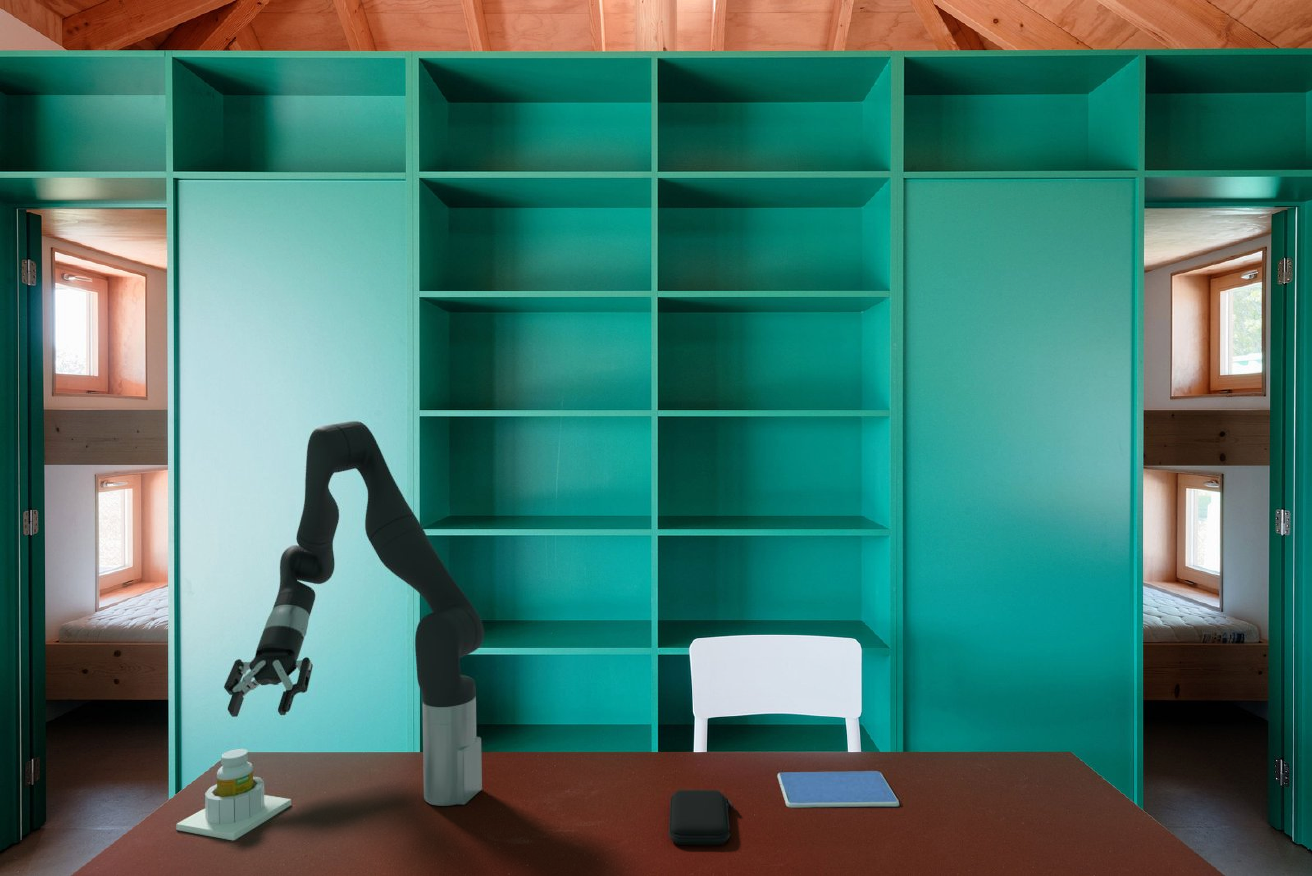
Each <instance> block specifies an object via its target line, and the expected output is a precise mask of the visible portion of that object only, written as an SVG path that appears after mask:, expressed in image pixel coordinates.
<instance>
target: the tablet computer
mask: <svg viewBox="0 0 1312 876" xmlns="http://www.w3.org/2000/svg"><path fill="white" fill-rule="evenodd" d="M777 780H778V783H779V786H780V789H781V790H780V791H781V792H782V796H783V799H784V802H785V805H786V807H788V808H791V809H793V808H795V809H796V808H797V809H798V808H799V809H800V808H841V807H842V808H849V807H851V808H854V807H859V808H860V807H900V802H899V799H898V798H897V797H896V795H895V793H894V792H893V789H892V788H891V787H890V785H889V783H888V782H887V780H886V779H885V777H884V776H883V774H882V773H881V771H878V770H864V771H862V770H861V771H859V770H858V771H857V770H856V771H800V772H799V771H796V772H794V771H792V772H791V771H790V772H788V771H787V772H786V771H784V772H779V773H777Z"/></svg>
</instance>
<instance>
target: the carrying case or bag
mask: <svg viewBox="0 0 1312 876" xmlns="http://www.w3.org/2000/svg"><path fill="white" fill-rule="evenodd" d="M728 807H729V808H728ZM729 809H730V811H731V812H733V811H734V805H733V803H732V801H731V800H730V798H729V797H726V796H725V795H723V793H722V792H721V791H719V790H716V789H679V790H676V791H675V792H673V794H672V795H671V797H670V800H669V819H668V820H669V821H668V822H669V823H668V836H669V838H670V840H671V841H672V842H673V843H674V844H676V845H678V846H722V845H724V844H725V843H726V842H727V841H728V840H729V838H731V829H730V819H729V817H730V816H729Z"/></svg>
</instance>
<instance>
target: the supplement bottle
mask: <svg viewBox="0 0 1312 876" xmlns="http://www.w3.org/2000/svg"><path fill="white" fill-rule="evenodd" d="M220 760H221V761H220V765H221V766H220V767H219V769H218V770H217V772H216V784H217V796H218V797H230V796H236V795H239V794H243V793H246V792H248V791H250V790H251V789H253V776H254V766H253V764H252V762H250V761H248V760H249V751H248V750H247V749H246V748H237V749H230V750H227V751H225V752H224V753H222V755H221V758H220Z"/></svg>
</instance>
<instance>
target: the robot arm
mask: <svg viewBox="0 0 1312 876" xmlns="http://www.w3.org/2000/svg"><path fill="white" fill-rule="evenodd" d="M306 449H307V450H306V462H305V463H306V465H305V477H304V503H303V508H302V513H301V515H300V521H299V526H298V529H297V531H296V532H297V533H296V537H295V539H296V543H297V544H295V545H291V546H289V547H287V548H286V549H285V550H284V551H283V552H282V554H281V557H280V560H279V587H278V593H277V595H276V598H275V602H274V603H273V607H272V610H271V612H270V614H269V616H268V617H267V620H266V623H265V625H264V628H263V631H262V633H261V636H260V639H259V642H258V645H257V648H256V651H255V656H254V658H253V659H252V660H251V661H242V659H240V658H238V659H236V660H235V661H234V663H233V665H232V667H231V670H230V672H229V674H228V676H227V678H226V681H225V683H224V686H223V688H224V690H225V691H226V692H227V693H228V695H230V696H231V697H230V700H229V703H228V705H227V711H228V712H229V713H228V714H230V716H231V717H232V718H237V717H238V716H239V714H240V710H241V707H242V704H243V702H244V699H245V698H244V697H245V696H246V695H247V694H248V693H249V692H251V691H253V690H255V689H256V688H258V686H259V685H260V686H268V685H273V686H279V684H281V683H282V684H283V686H284V688H285V690H284V691H282V695H281V699H280V701H279V704H278V707H277V713H279V716H285V715H287V713H289V712H290V710H291V707H292V705H293V702H294V698H295V696H296V695H297V694H300V693H301V694H303V693H306V692H307V691H308V688H309V683H310V679H311V675H312V671H313V667H314V666H313V665H314V664H313V663H312V661H311V659H310V658H309V657H308V656H305V657H303V658H302V660H298V659H299V656H300V653H301V650H302V647H303V643H304V641H305V637H306V635H307V632H308V631H307V630H308V627H309V620H310V616H311V613H312V611H313V607H314V603H315V600H316V592H315V590H314V589H313V588H312V587H311V586H309V585H308V584H305V583H310V584H315V585H323V584H325V583H326V582H328V581H329V580H330V579H331V578H332V576H333V574H334V571H335V554H334V539H335V534H336V532H337V528H338V524H339V521H340V509H339V505H338V503H337V502H336V500H335V498H334V496H333V494H332V492H331V490H330V488H329V486H330V485H329V484H330V481H331V479H332V476H333V475H334V474H335V473H341V472H346V471H351V470H355V469H356V470H357V472H359V474H360V475H361V478H362V480H363V482H364V484H365V487H366V489H367V503H366V511H365V518H364V519H365V521H364V528H365V529H364V530H365V535H366V537H367V538H368V541H369V543H370V545H371V547H372V548H373V549H374V552H375V553H376V555H377V556H378V558H379V560H380V562H381V563H382V564H383V566H384V567H386V569H388V570H389V572H391V573H393V574H394V575H395V576H397V578H399V579H400V580H402V581H403V582H405V583H406V584H407V585H409V586H410V587H411V588H412V589H414V590H415V591H416V592H418V593H419V594H420V595H421V597H422V598H423V600H424V601H425V602H426V604H427V605H428V606H429V608H430V610H431V611H432V612H431V613H428V614H426V615H424V616H423V617H422V618H421V619H420V620H419V621H418V624H417V626H416V631H415V635H414V636H415V638H414V648H415V649H414V650H415V662H416V666H415V667H416V677H417V683H418V687H419V690H420V692H421V695H422V696H421V698H422V699H421V700H422V752H423V753H422V758H423V761H422V762H423V765H422V766H423V770H422V771H423V798H424V801H425V802H426V803H428V804H430V805H433V806H439V807H440V806H441V807H446V806H447V807H449V806H454V805H465V804H467V803H468V802H469V801H470V800H471V799H473V798H474V796H476V795H477V794H478V793H479V792H481V790H482V789H483V784H482V783H483V782H482V781H483V777H482V775H483V774H482V772H483V771H482V738H481V736H477V699H476V698H477V697H476V695H477V691H476V682H475V680H474V679H473V678H472V677H470V676H468V675H462V674H461V673H462V672H461V665H460V664H461V663H460V659H461V658H462V657H465V656H467V655H469V654H471V653H474V652H476V651H477V650H478V649H479V648H480V647H481V645H482V644H483V640H484V637H485V636H484V635H485V629H484V624H483V622H482V618H481V616H480V614H479V613H478V611H477V610H476V608H475V607H474V605H473V603H472V602H471V601H470V600H469V598H467V596H466V594H465V593H464V592H463V590H462V589H461V588H460V586H459V585H458V584H457V583H456V581H455V580H454V578H453V576H451V574H450V572H449V571H448V569H447V568H446V566H445V564H444V562H443V561H442V560H441V558H440V555H438V553H437V551H436V550H435V548H434V547H433V545H432V543H431V541H430V540H429V538H428V536H427V534H426V532H425V530H424V528H423V527H422V524H420V521H419V520H418V518H417V517H416V515H415V514H414V511H413V510H412V509H411V507H410V506H409V504H408V502H407V501H406V498H405V496H403V493H402V491H401V490H400V487H399V486H398V484H397V482H396V481H395V479H394V476H393V475H392V473H391V470H390V468H389V466H388V463H387V461H386V459H385V457H384V455H383V452H382V450H381V448H380V447H379V443H378V442H377V440H376V438H375V436H374V435H373V432H372V431H371V430H370V428H369V427H368V426H367V425H366V424H365V423H363V422H362V421H358V420H357V421H356V420H354V421H353V420H352V421H345V422H339V423H334V424H332V423H331V424H328V425H323V426H319V427H316V428H314V430H313V431H312V432H311V434H310V436H309V438H308V442H307V448H306ZM303 582H305V583H303ZM297 669H298V671H299V673H298V677H297V681H296V683H293V682H292V680H291V678H290V675H291V674H293V672H294V671H296V670H297ZM248 670H250V671H249V672H248ZM247 672H248V673H247ZM253 679H254V680H253ZM252 680H253V681H252Z"/></svg>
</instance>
